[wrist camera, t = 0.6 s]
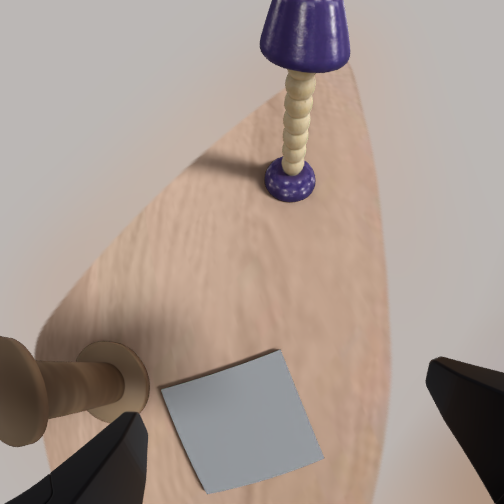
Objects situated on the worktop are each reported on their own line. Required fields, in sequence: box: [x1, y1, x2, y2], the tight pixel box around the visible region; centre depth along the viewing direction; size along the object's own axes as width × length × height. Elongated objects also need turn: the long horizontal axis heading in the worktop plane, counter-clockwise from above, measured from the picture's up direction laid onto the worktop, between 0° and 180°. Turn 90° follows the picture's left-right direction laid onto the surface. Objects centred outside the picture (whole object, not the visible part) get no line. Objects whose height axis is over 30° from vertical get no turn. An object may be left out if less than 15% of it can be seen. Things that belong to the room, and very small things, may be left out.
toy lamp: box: [260, 0, 350, 202], centre depth 17 cm, size 5×5×17 cm
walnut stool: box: [0, 336, 150, 447], centre depth 14 cm, size 6×6×12 cm
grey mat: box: [161, 350, 324, 494], centre depth 18 cm, size 9×9×1 cm
